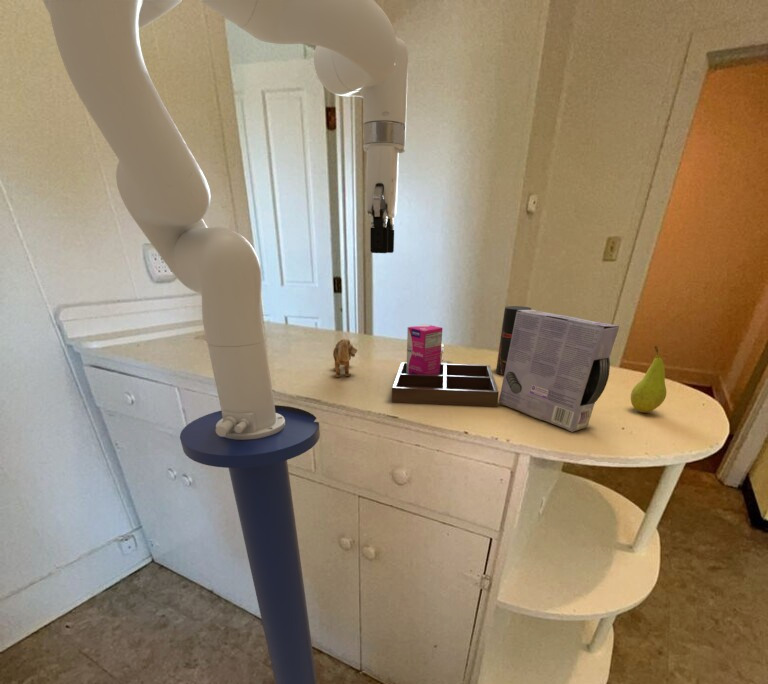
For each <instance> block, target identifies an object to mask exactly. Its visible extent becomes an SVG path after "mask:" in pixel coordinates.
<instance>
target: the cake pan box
mask: <svg viewBox="0 0 768 684" xmlns="http://www.w3.org/2000/svg"><path fill="white" fill-rule="evenodd" d="M619 329H620V327H619V325H617V324H611V323H605V322H599V321H593V320H589V319H583V318H579V317H574V316H570V315H563V314H556V313H552V312H546V311H540V310H536V309H531V310H517V313H516V318H515V323H514V328H513V333H512V338H511V343H510V348H509V353H508V358H507V363H506V368H505V373H504V375H503V379H502V384H501V388H500V389H501V390H500V392H499V393H500V394H499V397H498V402H499V403H498V404H500V405H502V406H505V407H508V408H511V409H513V410H516V411H518V412H520V413H523V415H527V416H530V417H532V418H535V419H537V420H539V421H544V422H546V423H549V424H552V425H555V426H557V427H560V428H562V429H565V430H567V431H568V432H571V433H574V432H577V431H580V430H584V429H586V428H588V427H589V423H590V420H591V417H592V413H593V410H594V407H595V404H596V403H597V401H598V400H599V399H600V398H601V396H602V394H603V392H604V391H605V389H606V386H607V384H608V381H609V377H610V370H611V361H610V357H611V353H612V351H613V348H614V344H615V342H616V338H617V336H618V332H619Z"/></svg>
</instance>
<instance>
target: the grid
mask: <svg viewBox="0 0 768 684" xmlns="http://www.w3.org/2000/svg"><path fill="white" fill-rule="evenodd" d="M406 368H407V361H406V362H404V361H403V362H401V363H400V365H399V368H398V370H397V374H396V375H395V379H394V381H393V384H392V387H391V403H401V404H403V403H404V404H426V405H448V406H469V407H470V406H471V407H494V408H495V407H496V408H497V406H498V401H499V395H500V394H499V393H500V392H499V389H498V386H497V383H496V379H495V377H494V374H493V372H492V368H491V366H490V364H465V363H460V364H459V363H448V364H440V373H439V375H425V374H406Z"/></svg>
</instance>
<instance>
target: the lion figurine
mask: <svg viewBox="0 0 768 684" xmlns="http://www.w3.org/2000/svg"><path fill="white" fill-rule="evenodd" d="M357 352H358V349H357V348H355V347H354V345H353V344H351V341H350V339H348V338H343V339H341V340H339V341H338V342H337V343H336V344H335V347H334V349H333V352H332V355H333V357H332V358H333V360H334V367H333V371H335V375H334V377H335V378H340V377H341V371H340V366H343V367H344V375H345V377H350V376H351V375H352V374H351V373H350V372H349V371H350V361H351V358H356V357H355V356H356V354H357Z"/></svg>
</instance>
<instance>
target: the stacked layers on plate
mask: <svg viewBox="0 0 768 684" xmlns="http://www.w3.org/2000/svg"><path fill="white" fill-rule="evenodd" d="M442 347H445V343H441V358H440V364H449V362H447V361H444V356H443V354H444V353H445V350H444V348H442Z"/></svg>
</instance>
